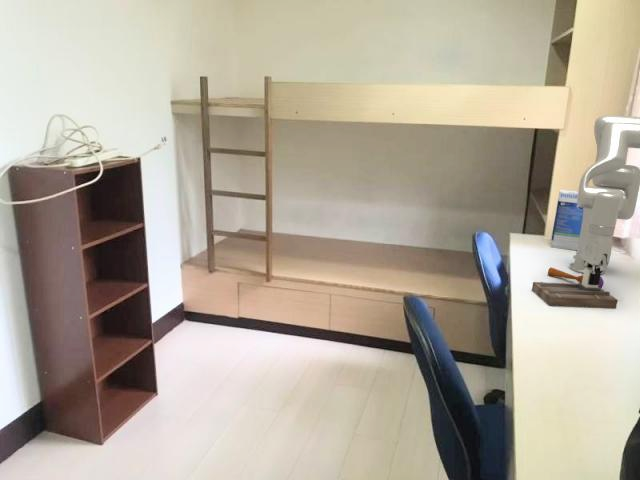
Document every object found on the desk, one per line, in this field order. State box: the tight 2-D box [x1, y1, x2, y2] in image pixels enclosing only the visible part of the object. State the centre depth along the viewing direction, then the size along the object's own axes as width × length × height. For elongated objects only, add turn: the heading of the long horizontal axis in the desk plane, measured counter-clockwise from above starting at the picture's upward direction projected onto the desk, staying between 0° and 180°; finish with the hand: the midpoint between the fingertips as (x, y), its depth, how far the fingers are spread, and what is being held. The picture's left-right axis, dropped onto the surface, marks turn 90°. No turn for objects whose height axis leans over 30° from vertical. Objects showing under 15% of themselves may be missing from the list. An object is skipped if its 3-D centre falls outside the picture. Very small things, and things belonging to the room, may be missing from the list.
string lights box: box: [549, 189, 583, 251], centre depth 235 cm, size 13×8×26 cm, turn 66°
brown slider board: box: [531, 281, 619, 309], centre depth 176 cm, size 14×22×4 cm, turn 91°
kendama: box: [547, 267, 605, 289], centre depth 191 cm, size 6×6×20 cm
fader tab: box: [578, 267, 600, 291], centre depth 175 cm, size 4×5×8 cm
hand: (590, 282), depth 175 cm, fingers closed on fader tab, 3 cm apart
